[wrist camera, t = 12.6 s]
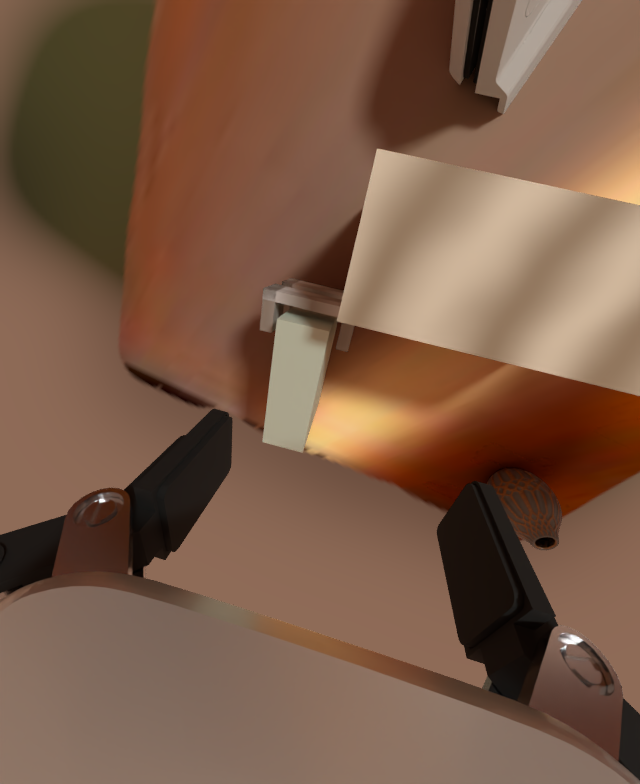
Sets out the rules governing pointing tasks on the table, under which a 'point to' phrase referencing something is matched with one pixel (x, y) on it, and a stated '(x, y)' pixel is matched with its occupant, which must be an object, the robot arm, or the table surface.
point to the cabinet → (489, 272)
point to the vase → (529, 506)
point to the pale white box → (297, 375)
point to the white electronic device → (504, 42)
